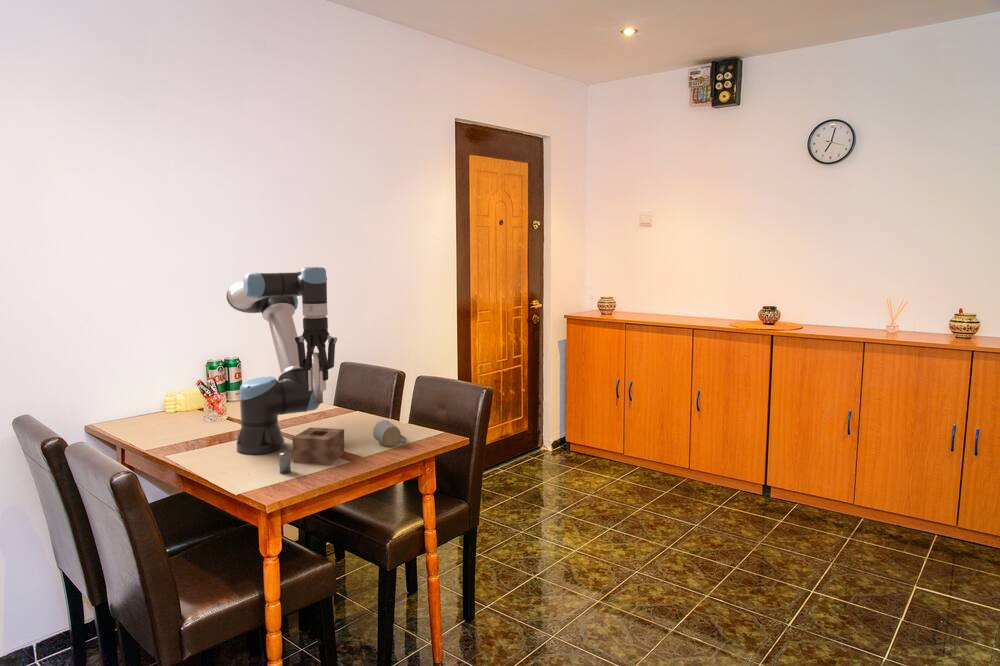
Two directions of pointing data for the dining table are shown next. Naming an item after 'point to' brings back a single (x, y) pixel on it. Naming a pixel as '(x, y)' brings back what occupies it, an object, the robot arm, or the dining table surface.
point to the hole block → (318, 446)
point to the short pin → (284, 462)
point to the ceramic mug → (387, 433)
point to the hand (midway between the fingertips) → (317, 390)
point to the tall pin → (316, 378)
